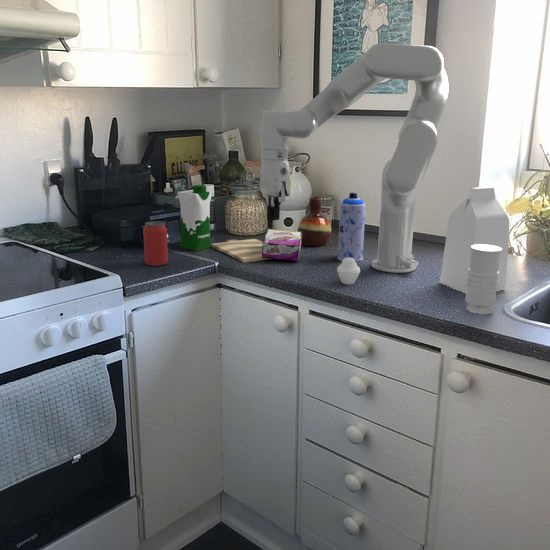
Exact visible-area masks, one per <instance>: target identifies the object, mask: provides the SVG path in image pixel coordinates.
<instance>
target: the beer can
mask: <svg viewBox="0 0 550 550" xmlns="http://www.w3.org/2000/svg"><path fill="white" fill-rule="evenodd" d="M142 234H143V252H144V253H143V254H144V263H145V264H146V265H147V266H149V265H150V266H149V267H162V266H165V265H166V264H168V262H169V257H168V255H169V254H168V251H169V250H168V249H169V248H168V229H167V227H166V223H165V222H164V221H158V220H156V221H155V220H153V221H152V220H151V221H146V222H145V223H144V227H143V233H142ZM161 265H162V266H161Z"/></svg>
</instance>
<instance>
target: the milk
mask: <svg viewBox="0 0 550 550" xmlns="http://www.w3.org/2000/svg"><path fill="white" fill-rule="evenodd" d="M467 195H468V196H466V199H465V200H464V201H462V202H461V203H460V204H459V205H458V206H457V207H455V208H454V210H452V212H451V213H450V214H449V218H448V222H447V230H446V237H445V244H444V249H443V256H442V261H441V262H442V263H441V271H440V276H439V284H441V283H442V284H441V285H443V284H444V285H443V286H445V285H447V286H446V287H448V286H449V287H448V288H450V287H451V288H450V289H452V288H453V289H452V290H455V289H456V290H455V291H457V290H458V291H457V292H459V291H461V292H463V293H462V294H464V293H465V294H464V295H466V292H467V287H466V285H467V283H468V282H467V279H468V277H467V275H468V269H469V268H470V261H471V252H472V249H471V246H472V245H476V244H486V245H494V246H498V247H500V248H502V251H501V252H500V259H499V268H498V271H499V276H498V277H499V280H498V285H497V290H504V289H505V290H506V285H507V274H508V273H507V270H508V253H509V239H510V237H509V236H510V218H509V216H508V214H507V212H506V211H505V210H504V209H505V208H503V207H502V206H501V204H500V202H499V201H498V199H497V197H496V193H495V187H491V186H483V187H472V188H471V189H470V191H469V193H468V194H467ZM497 290H496V291H497ZM461 292H460V293H461Z"/></svg>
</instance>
